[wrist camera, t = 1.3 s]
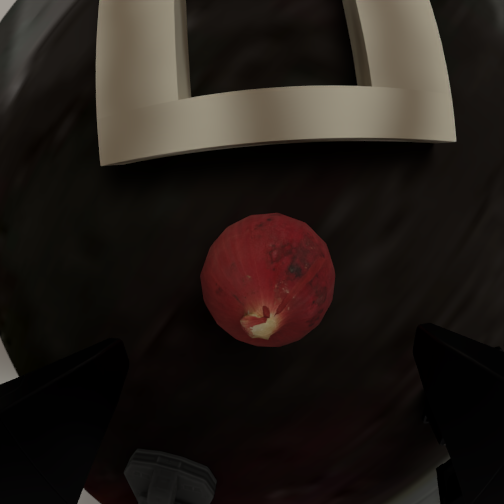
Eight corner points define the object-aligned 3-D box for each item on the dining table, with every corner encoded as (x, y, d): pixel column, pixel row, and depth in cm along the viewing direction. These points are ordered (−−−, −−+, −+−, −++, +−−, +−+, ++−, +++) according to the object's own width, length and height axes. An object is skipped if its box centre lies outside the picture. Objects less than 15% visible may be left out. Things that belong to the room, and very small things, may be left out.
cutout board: (391, -48, 11) (402, -66, 9) (434, 143, 15) (456, 141, 12) (121, -26, 13) (105, -42, 10) (122, 164, 16) (100, 166, 14)
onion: (267, 180, 16) (261, 196, 9) (343, 253, 17) (389, 322, 9) (197, 257, 18) (144, 325, 10) (271, 320, 19) (266, 416, 11)
